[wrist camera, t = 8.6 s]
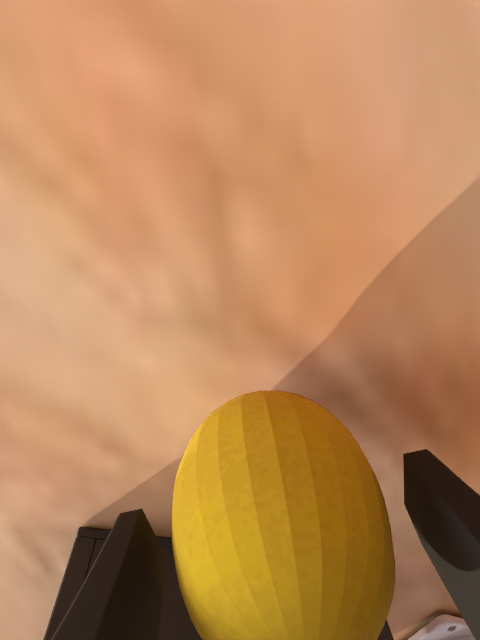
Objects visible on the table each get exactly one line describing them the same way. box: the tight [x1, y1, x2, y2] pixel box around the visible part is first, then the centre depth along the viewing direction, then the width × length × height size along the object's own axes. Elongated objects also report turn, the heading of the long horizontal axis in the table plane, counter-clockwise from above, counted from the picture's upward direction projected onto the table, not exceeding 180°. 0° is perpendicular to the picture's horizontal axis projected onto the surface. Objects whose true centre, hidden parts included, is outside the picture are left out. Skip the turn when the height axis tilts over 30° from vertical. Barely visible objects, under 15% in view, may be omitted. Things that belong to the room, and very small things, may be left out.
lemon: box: [171, 391, 395, 640], centre depth 10 cm, size 6×6×8 cm
